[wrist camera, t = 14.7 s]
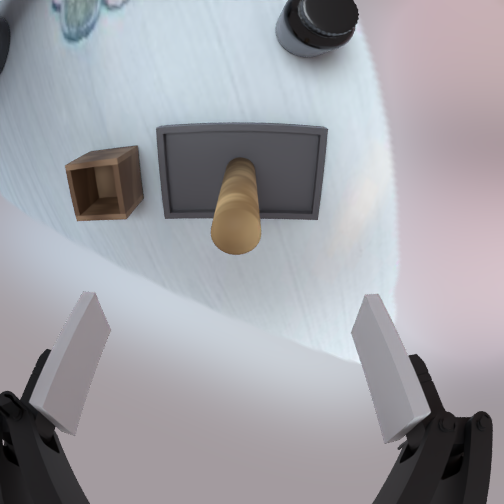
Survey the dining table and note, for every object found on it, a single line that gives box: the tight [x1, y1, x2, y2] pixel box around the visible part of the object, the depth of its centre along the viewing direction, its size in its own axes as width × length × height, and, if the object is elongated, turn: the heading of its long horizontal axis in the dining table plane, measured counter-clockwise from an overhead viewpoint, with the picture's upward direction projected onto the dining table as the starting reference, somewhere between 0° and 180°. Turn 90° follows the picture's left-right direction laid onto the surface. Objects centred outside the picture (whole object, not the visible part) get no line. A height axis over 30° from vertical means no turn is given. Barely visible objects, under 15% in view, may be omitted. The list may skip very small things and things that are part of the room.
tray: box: [156, 123, 328, 220], centre depth 34 cm, size 20×12×2 cm, turn 89°
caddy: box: [65, 146, 144, 221], centre depth 31 cm, size 7×7×6 cm
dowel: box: [211, 157, 261, 255], centre depth 27 cm, size 4×4×16 cm
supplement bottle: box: [276, 0, 359, 57], centre depth 20 cm, size 7×7×12 cm
